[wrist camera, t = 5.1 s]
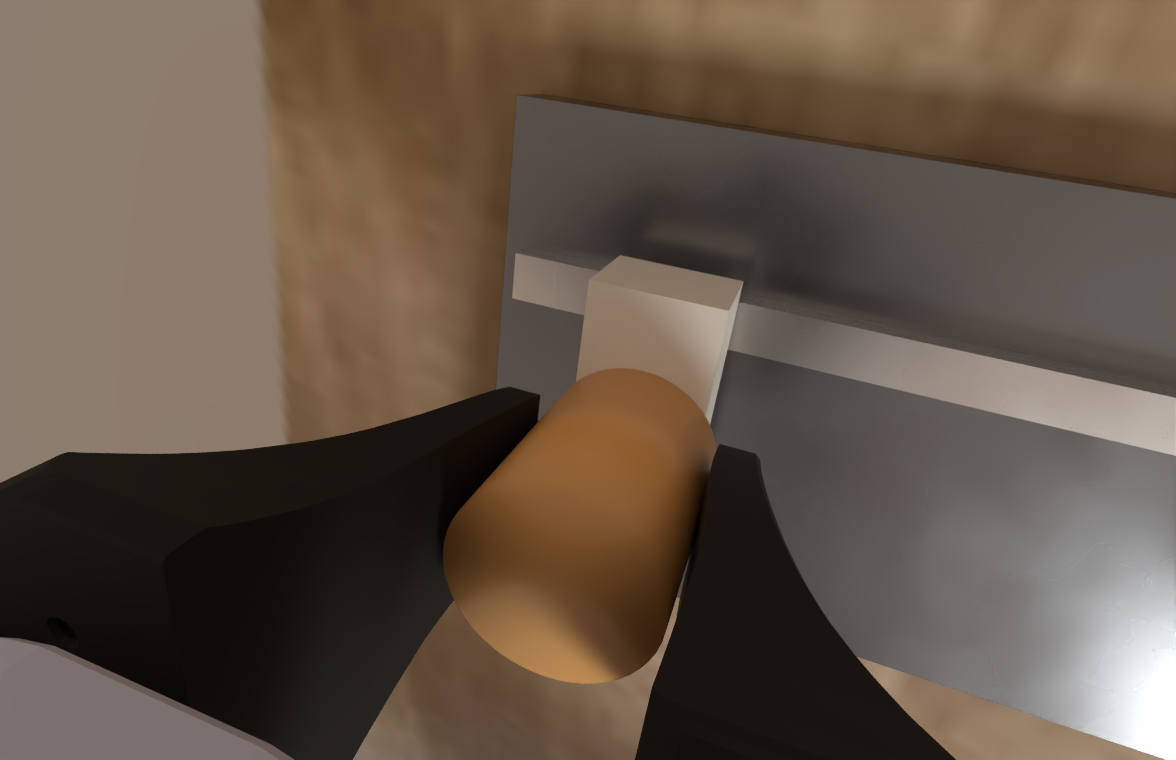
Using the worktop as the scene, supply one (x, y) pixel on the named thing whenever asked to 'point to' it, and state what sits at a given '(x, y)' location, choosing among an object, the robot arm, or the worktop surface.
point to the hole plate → (905, 385)
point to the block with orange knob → (602, 484)
